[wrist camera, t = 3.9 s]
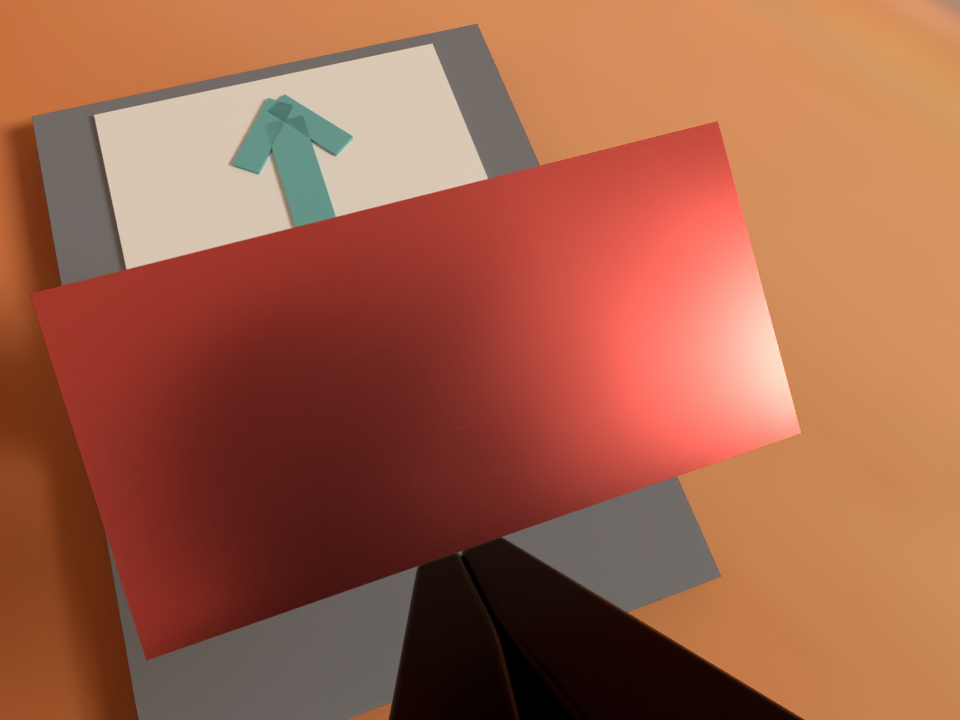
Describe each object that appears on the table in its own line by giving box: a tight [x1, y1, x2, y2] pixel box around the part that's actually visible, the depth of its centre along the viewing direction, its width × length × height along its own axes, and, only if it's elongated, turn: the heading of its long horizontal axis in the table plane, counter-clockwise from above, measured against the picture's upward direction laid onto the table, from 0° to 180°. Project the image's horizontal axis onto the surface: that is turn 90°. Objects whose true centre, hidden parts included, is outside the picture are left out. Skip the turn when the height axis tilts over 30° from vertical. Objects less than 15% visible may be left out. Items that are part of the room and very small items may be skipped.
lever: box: [30, 121, 801, 661], centre depth 10 cm, size 2×4×11 cm, turn 110°
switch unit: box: [32, 24, 721, 720], centre depth 16 cm, size 16×12×5 cm
